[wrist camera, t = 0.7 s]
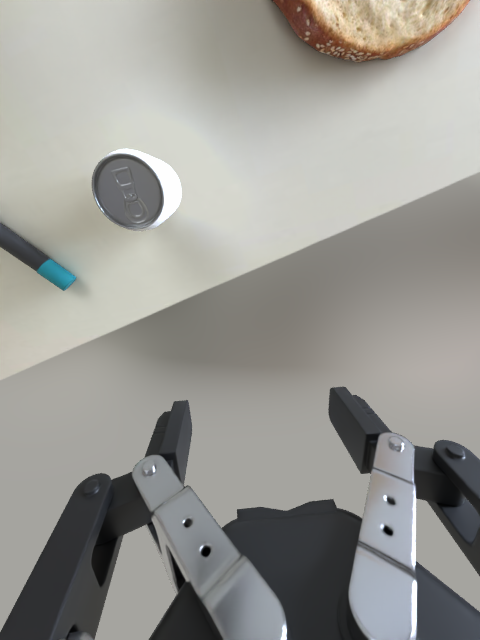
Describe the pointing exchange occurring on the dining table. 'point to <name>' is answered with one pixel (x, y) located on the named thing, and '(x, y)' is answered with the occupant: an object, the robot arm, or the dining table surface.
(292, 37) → the dining table surface
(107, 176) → the can
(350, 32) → the bread slice
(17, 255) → the marker
